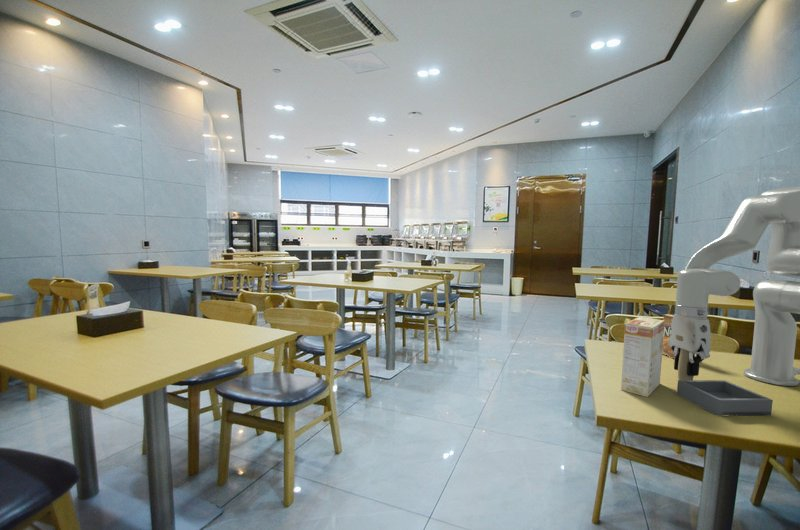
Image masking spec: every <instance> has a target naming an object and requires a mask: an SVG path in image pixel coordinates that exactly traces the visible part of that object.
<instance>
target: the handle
mask: <svg viewBox="0 0 800 530" xmlns="http://www.w3.org/2000/svg"><path fill="white" fill-rule="evenodd" d="M675 338H676V339H677V340H679V341H683V336H680V335H677V334H675ZM695 356H696V354H694V357H695ZM688 362H690V359H689V351H686V350H684V349H681V350H680V356H679V363H678V370H677V378H678V380H694V376H688V375H687V363H688Z"/></svg>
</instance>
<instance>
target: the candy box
mask: <svg viewBox="0 0 800 530" xmlns="http://www.w3.org/2000/svg"><path fill="white" fill-rule="evenodd" d="M673 316H674V314H663V319H662V320H664V333H663V347H662V355H664V356H666V355H667V357H669V356H670V357H669V358H671V357H672V358H671V359H673V358H674V360H675V356H674V355H673V350H672V348H671V347H670V345H669V344H668V341H669V340H670V331H671V324H672V320H673ZM680 350H681V349H680Z"/></svg>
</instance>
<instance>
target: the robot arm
mask: <svg viewBox="0 0 800 530" xmlns="http://www.w3.org/2000/svg"><path fill="white" fill-rule="evenodd" d="M738 205H739V206H738V207H737V209H736V210H735V212H734V213H733V215H732V216H731V218H730V220H729V221H728V224H727V225H726V228H725V229H724V231H723V232H722V234H721V235H720V236H719V237H718V238H716V239H715V240H712V241H711V242H710V243H708V244H706V245H705V246H703V247H702V248H701V249H699V250H698V251H696V253H695V254H693V256H692V257H691V258H690V259H689V261H688V262H687V264H686V265H685V268H684V269H683V270H679V271H678V273H677V281H676V294H675V295H676V296H675V308H674V314H673V315H674V316H673V320H672V324H671V331H670V340H669V341H668V344H669V345H670V347H671V348H672V350H673V355H674V356H675V359H674V362H673V363H674V364H673V369H674V371H678V363H679V356H680V349H684V350H686V351H689V359H690V362H688V363H687V375H688V376H695V377H698V376H699V373H700V364H701V363H702V362H703V361H705V360H706V359H708V358H710V357H711V354H710V352H711V345H712V343H711V340H712V337H711V335H712V333H711V324H710V319H708V316H709V312H708V308H709V307H708V306H709V296H710V295H712V296H718V297H729V296H733V295H734V294H736V293H737V292H738V291H739V290H740V288H741V285H742V284H741V279H740V277H739V276H738V275H737V274H736V273H734V272H732V271H729V270H724V269H723V270H722V269H713V268H712V267H713V266H714V265H715V264H717V263H718V262H720V261H722V260H724V259H727V258H731V257H734V256H738V255H741V254H744V253H747V252H750V251H752V250H753V249H755V248H756V246H757V245H758V243H759V241H760V240H761V238H762V236H763V235H764V232H765V231H766V229H767V228H768V226H769V225H770V226H771V238H770V243H769V247H768V252H767V257H766V264H765V265H766V270H767V271H768V272H769V273H771V274H773V275H775V276H782V277H783V276H784V277H791V278H792V277H794V278H800V186H789V187H779V188H773V189H769V190H766V191H764V192H762V193H761V194H760V195H753V196H750V197H749V196H748V197H746V198H745V199H742V201H741V202H740V203H739V204H738ZM752 297H753V299H752V300H753V303H754V328H753V337H752V338H753V339H752V349H751V360H750V368H746V369H745V368H744V369H743V374H744V376H745V377H748V378H750V379H753V380H756V381H758V382H759V381H760V382H763V383H766V384H767V383H768V384H773V385H778V386H786V387H794V386H798V385H799V384H800V380H799V379H798V378H796V377H795V376H796V375H798V376H799V375H800V367H798V368H797V367H795V366H794V363H795V362H794V360H795V354H796V353H795V351H796V343H797V331H798V327H797V322H796V320H795V318H794V317H793V315H792V314H798V315H800V281H796V280H793V281H792V280H786V279H764V280H762V281H759V282H757V284H755V286H754V287H753V290H752ZM791 313H792V314H791ZM675 334H677V335H680V336H683V341H679V340H677V339H676V338H675ZM694 354H695V357H694Z"/></svg>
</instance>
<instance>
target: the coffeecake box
mask: <svg viewBox="0 0 800 530" xmlns="http://www.w3.org/2000/svg"><path fill="white" fill-rule="evenodd" d="M663 333H664V320H663V319H658V318H653V317H652V318H651V317H645V316H638V317H635V318H634V319H631V320H629V321H628V322H625V323H624V337H623V338H624V339H623V350H622V351H623V353H622V369H621V370H622V372H621V386H620V391H623V392H627V393H630V394H635V395H638V396H643V397H645V398H648V397H650V396H651V394H652V393H653V392H654V391H655V390H656V389H657V388H658V387H659V385H660V384H661V373H662V371H661V370H662V361H663V360H662V359H663V354H662V347H663Z"/></svg>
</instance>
